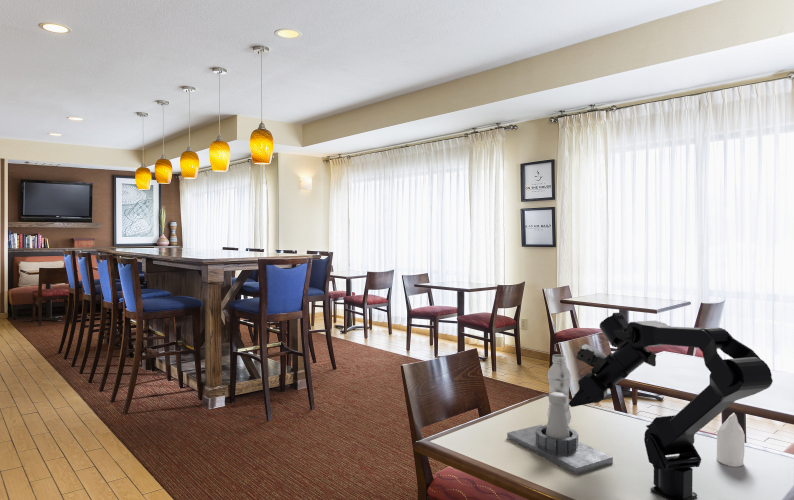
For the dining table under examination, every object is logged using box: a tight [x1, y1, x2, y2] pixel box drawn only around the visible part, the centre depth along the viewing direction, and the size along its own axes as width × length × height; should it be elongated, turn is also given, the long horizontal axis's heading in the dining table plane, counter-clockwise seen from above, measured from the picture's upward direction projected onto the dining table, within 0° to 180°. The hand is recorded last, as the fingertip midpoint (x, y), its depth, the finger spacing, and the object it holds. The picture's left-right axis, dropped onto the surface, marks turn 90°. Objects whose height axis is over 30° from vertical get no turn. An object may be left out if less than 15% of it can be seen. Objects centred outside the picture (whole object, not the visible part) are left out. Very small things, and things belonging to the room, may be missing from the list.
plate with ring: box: [506, 424, 614, 475], centre depth 130 cm, size 24×12×4 cm, turn 28°
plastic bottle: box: [547, 354, 572, 426], centre depth 146 cm, size 6×7×20 cm
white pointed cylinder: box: [716, 412, 746, 468], centre depth 122 cm, size 6×12×6 cm
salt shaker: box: [546, 392, 570, 438], centre depth 130 cm, size 6×6×13 cm
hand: (575, 400), depth 127 cm, fingers open, 9 cm apart
